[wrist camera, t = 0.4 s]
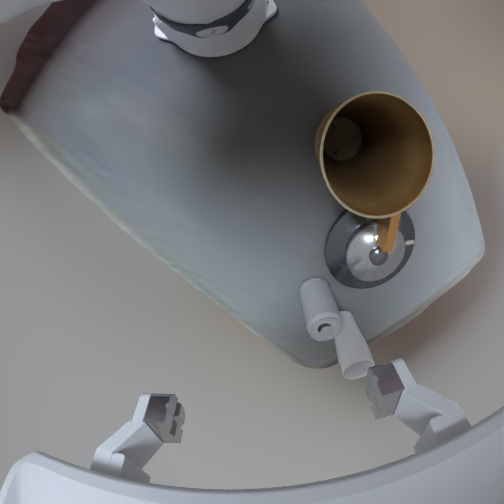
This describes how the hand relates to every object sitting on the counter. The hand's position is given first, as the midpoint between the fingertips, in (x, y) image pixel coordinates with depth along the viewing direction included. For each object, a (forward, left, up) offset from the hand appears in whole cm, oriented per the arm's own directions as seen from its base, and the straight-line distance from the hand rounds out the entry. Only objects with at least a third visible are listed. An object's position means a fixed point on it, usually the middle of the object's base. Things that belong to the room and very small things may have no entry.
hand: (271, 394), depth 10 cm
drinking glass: (+36, +14, -38) cm, 54 cm away
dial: (+16, +20, -37) cm, 45 cm away
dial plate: (+18, +20, -38) cm, 46 cm away
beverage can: (+26, +8, -38) cm, 47 cm away
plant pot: (-3, +15, -38) cm, 41 cm away
